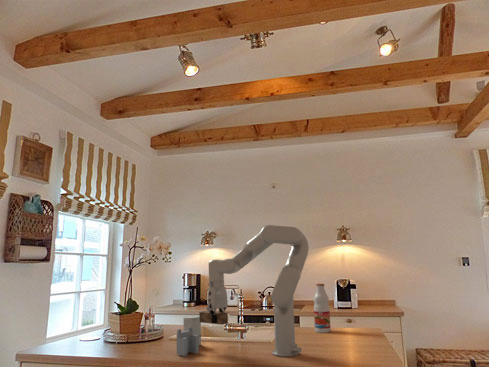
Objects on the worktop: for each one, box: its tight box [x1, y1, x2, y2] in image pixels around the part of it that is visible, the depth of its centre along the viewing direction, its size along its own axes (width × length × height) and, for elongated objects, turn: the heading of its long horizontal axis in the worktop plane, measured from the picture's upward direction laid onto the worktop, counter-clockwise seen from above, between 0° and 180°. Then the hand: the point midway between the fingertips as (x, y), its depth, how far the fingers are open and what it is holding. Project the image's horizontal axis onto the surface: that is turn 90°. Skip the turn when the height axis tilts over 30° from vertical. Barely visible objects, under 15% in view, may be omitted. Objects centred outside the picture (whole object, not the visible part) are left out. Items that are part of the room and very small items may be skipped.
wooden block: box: [198, 310, 229, 326], centre depth 203 cm, size 16×4×5 cm, turn 48°
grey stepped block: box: [176, 327, 200, 357], centre depth 199 cm, size 6×9×12 cm
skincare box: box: [183, 315, 202, 346], centre depth 216 cm, size 8×6×15 cm
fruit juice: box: [313, 283, 331, 334], centre depth 247 cm, size 9×9×28 cm
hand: (217, 322), depth 201 cm, fingers closed on wooden block, 4 cm apart
